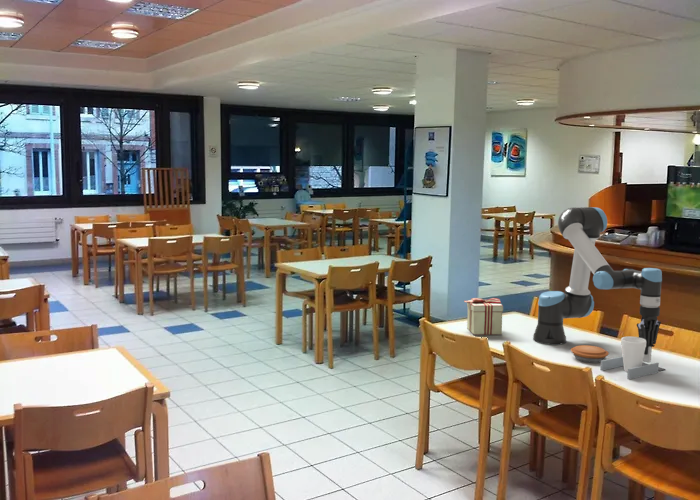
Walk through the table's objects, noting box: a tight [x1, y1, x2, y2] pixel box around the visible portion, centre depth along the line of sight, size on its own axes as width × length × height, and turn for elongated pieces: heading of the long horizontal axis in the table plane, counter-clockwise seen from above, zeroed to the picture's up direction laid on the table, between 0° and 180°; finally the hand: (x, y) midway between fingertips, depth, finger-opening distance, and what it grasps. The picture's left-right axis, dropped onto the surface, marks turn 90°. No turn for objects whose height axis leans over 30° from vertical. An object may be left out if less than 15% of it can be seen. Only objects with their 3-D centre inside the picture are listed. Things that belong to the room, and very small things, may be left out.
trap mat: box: [642, 361, 666, 373], centre depth 272 cm, size 12×6×1 cm, turn 30°
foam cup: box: [620, 335, 646, 373], centre depth 266 cm, size 10×9×13 cm
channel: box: [600, 355, 659, 380], centre depth 266 cm, size 14×18×4 cm
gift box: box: [463, 297, 504, 336], centre depth 329 cm, size 17×18×17 cm
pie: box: [570, 344, 610, 364], centre depth 283 cm, size 16×16×5 cm
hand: (646, 361), depth 271 cm, fingers closed
